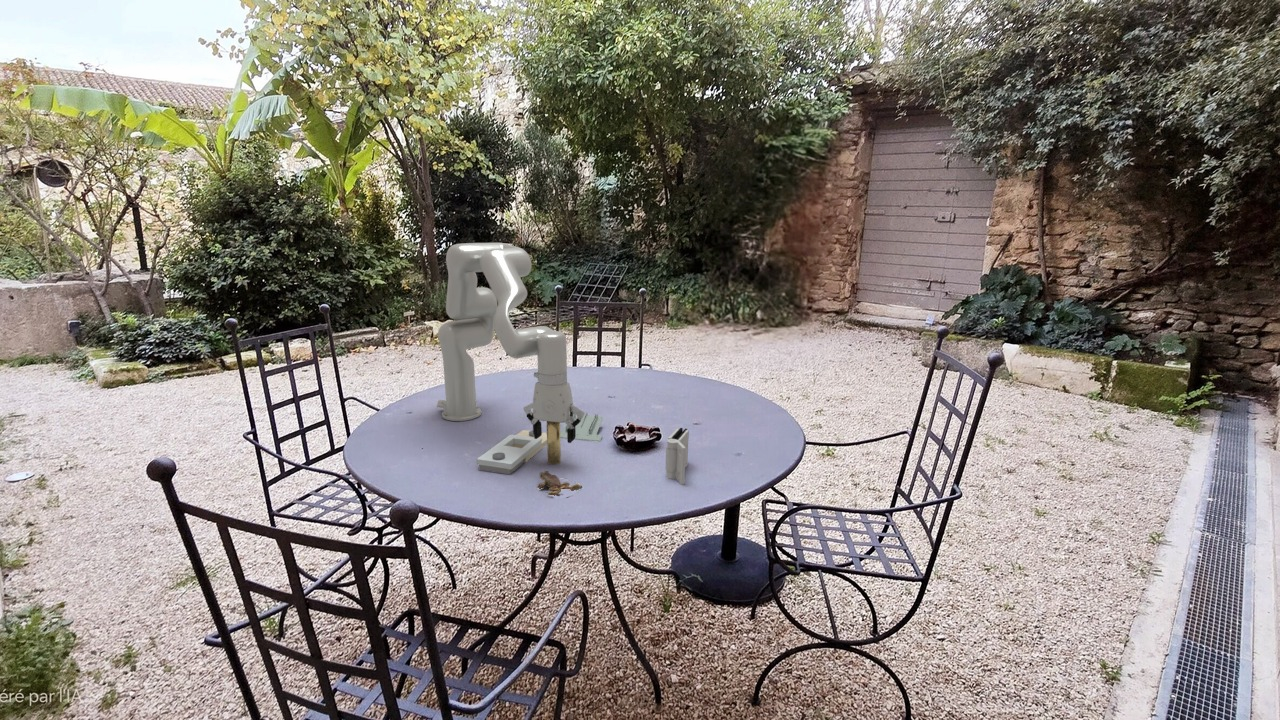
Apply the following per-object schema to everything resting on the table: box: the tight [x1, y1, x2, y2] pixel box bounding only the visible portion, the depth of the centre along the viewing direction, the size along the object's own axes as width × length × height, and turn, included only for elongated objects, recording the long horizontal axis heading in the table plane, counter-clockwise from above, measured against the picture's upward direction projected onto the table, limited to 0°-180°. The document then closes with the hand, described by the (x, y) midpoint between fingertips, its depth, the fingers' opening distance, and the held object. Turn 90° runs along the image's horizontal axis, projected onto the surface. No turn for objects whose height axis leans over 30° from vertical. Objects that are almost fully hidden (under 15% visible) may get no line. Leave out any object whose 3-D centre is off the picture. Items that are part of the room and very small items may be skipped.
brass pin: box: [546, 421, 562, 465], centre depth 159 cm, size 4×4×12 cm
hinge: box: [665, 427, 690, 486], centre depth 154 cm, size 14×5×10 cm, turn 172°
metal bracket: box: [560, 411, 604, 443], centre depth 181 cm, size 14×6×15 cm
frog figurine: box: [536, 470, 583, 496], centre depth 145 cm, size 12×12×4 cm
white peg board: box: [476, 429, 547, 475], centre depth 165 cm, size 26×10×4 cm, turn 164°
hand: (554, 439), depth 158 cm, fingers open, 9 cm apart
